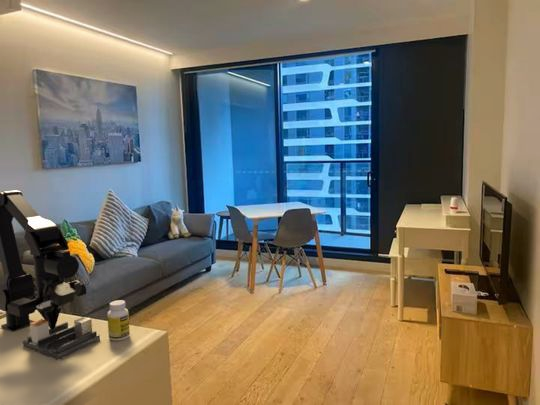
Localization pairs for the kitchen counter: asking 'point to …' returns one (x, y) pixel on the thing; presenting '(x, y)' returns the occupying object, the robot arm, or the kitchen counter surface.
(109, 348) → the kitchen counter surface
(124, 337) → the supplement bottle
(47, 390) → the kitchen counter surface
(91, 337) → the breaker panel
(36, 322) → the block
